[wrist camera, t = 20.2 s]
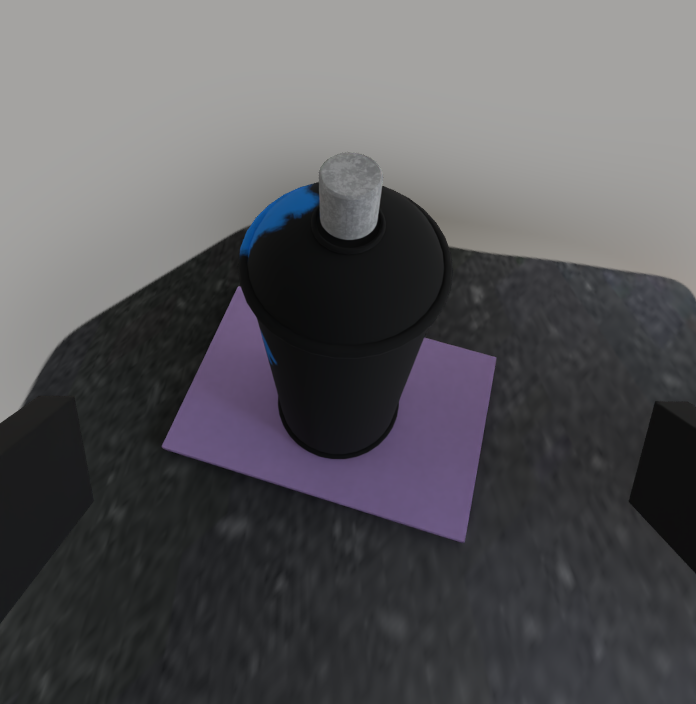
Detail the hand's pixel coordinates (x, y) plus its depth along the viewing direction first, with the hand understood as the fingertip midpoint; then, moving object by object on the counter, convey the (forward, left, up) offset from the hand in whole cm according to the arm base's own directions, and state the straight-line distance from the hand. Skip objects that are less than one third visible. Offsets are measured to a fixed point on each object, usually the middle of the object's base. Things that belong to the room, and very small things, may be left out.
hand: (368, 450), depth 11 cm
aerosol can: (+3, -8, -20) cm, 22 cm away
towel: (+3, -8, -20) cm, 22 cm away
